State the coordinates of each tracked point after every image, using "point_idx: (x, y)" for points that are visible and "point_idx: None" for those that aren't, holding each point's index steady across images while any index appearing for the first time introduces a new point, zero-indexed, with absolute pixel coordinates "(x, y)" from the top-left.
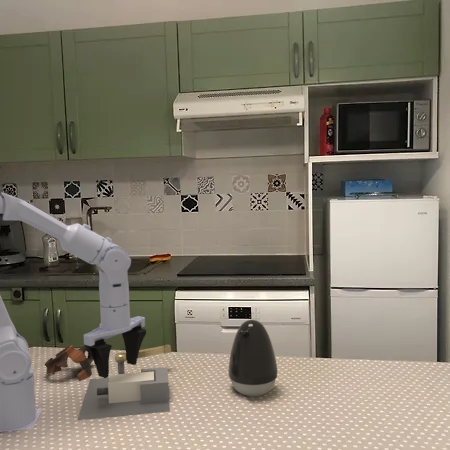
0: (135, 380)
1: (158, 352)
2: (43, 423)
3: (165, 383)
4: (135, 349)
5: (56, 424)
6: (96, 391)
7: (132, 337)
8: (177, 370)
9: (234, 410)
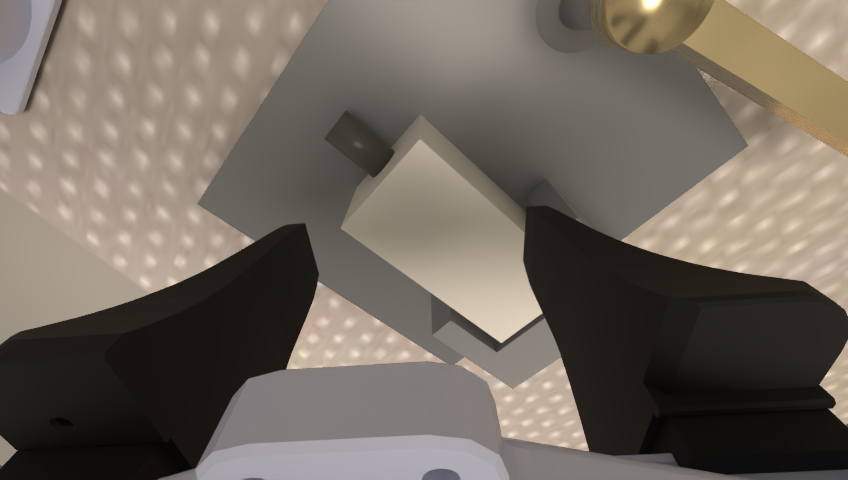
0: (451, 294)
1: (845, 150)
2: (77, 86)
3: (504, 379)
4: (559, 341)
5: (129, 141)
6: (390, 22)
7: (601, 405)
8: (813, 140)
9: (556, 438)
